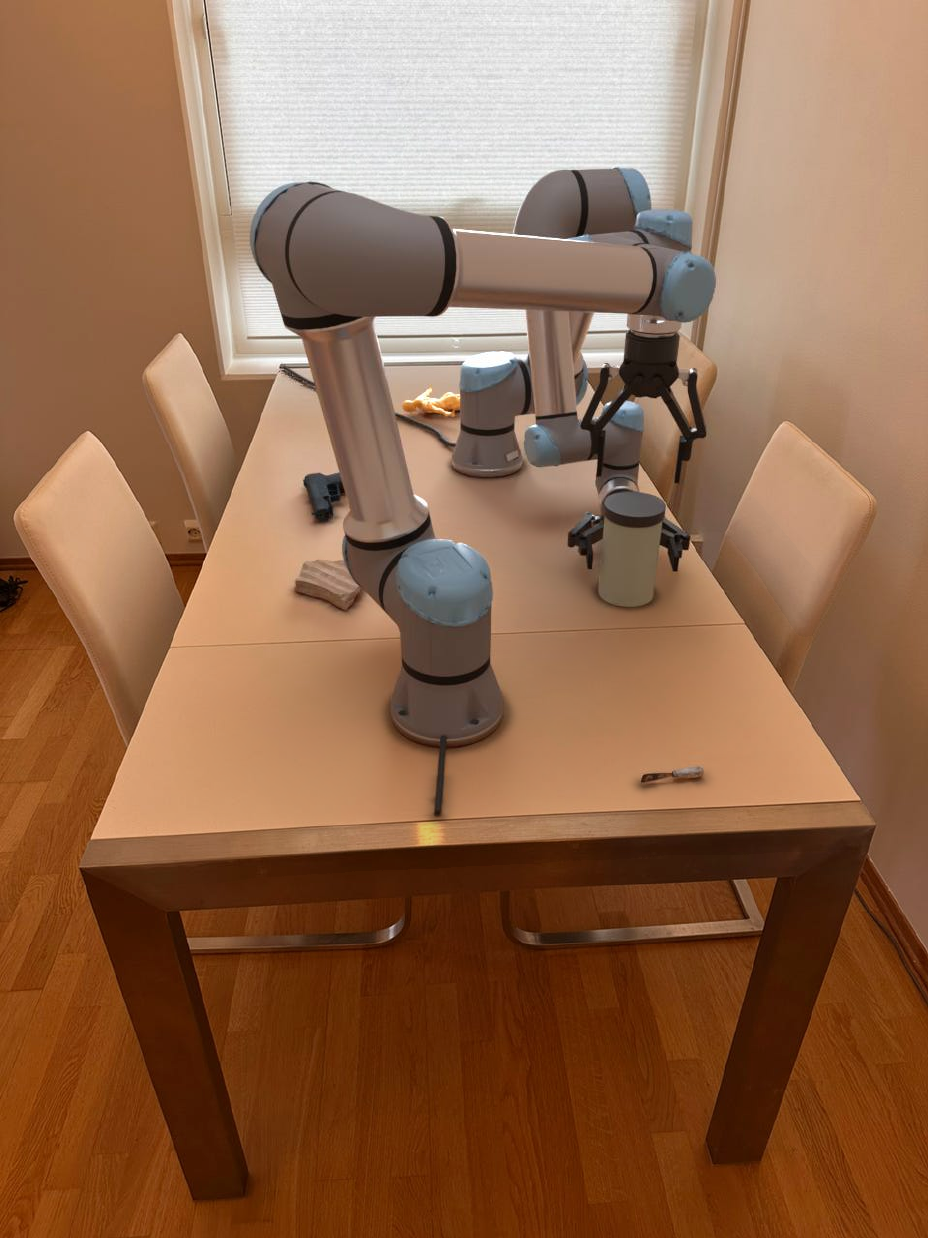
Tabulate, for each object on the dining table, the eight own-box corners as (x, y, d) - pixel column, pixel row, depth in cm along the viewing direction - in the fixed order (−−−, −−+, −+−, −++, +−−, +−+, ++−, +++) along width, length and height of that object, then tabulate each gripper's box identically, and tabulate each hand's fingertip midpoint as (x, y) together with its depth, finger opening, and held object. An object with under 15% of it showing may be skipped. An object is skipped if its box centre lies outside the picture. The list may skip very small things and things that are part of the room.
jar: (607, 609, 144) (616, 521, 135) (591, 582, 151) (598, 496, 143) (661, 604, 145) (672, 516, 136) (642, 577, 152) (652, 492, 144)
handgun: (374, 516, 173) (312, 524, 171) (359, 480, 188) (302, 487, 185) (373, 501, 172) (311, 508, 169) (358, 466, 186) (300, 472, 183)
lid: (614, 529, 136) (615, 519, 135) (595, 503, 144) (596, 493, 143) (673, 524, 137) (675, 514, 136) (652, 499, 145) (653, 489, 144)
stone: (382, 577, 152) (381, 564, 151) (347, 611, 143) (346, 598, 142) (316, 564, 157) (314, 551, 155) (279, 596, 147) (277, 583, 146)
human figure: (395, 413, 223) (394, 398, 221) (438, 390, 237) (438, 375, 235) (462, 429, 215) (462, 413, 213) (502, 404, 229) (503, 388, 227)
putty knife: (703, 777, 109) (705, 767, 109) (642, 788, 108) (644, 777, 107) (700, 772, 110) (702, 762, 109) (639, 782, 109) (640, 771, 108)
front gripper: (566, 333, 124) (558, 479, 136) (740, 342, 120) (716, 492, 132) (572, 320, 131) (564, 461, 142) (738, 328, 126) (716, 473, 138)
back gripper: (688, 527, 162) (708, 585, 144) (551, 524, 163) (553, 581, 145) (694, 489, 158) (715, 544, 140) (553, 486, 159) (556, 540, 141)
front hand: (637, 476), depth 137 cm, fingers open, 11 cm apart
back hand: (633, 563), depth 143 cm, fingers open, 13 cm apart
